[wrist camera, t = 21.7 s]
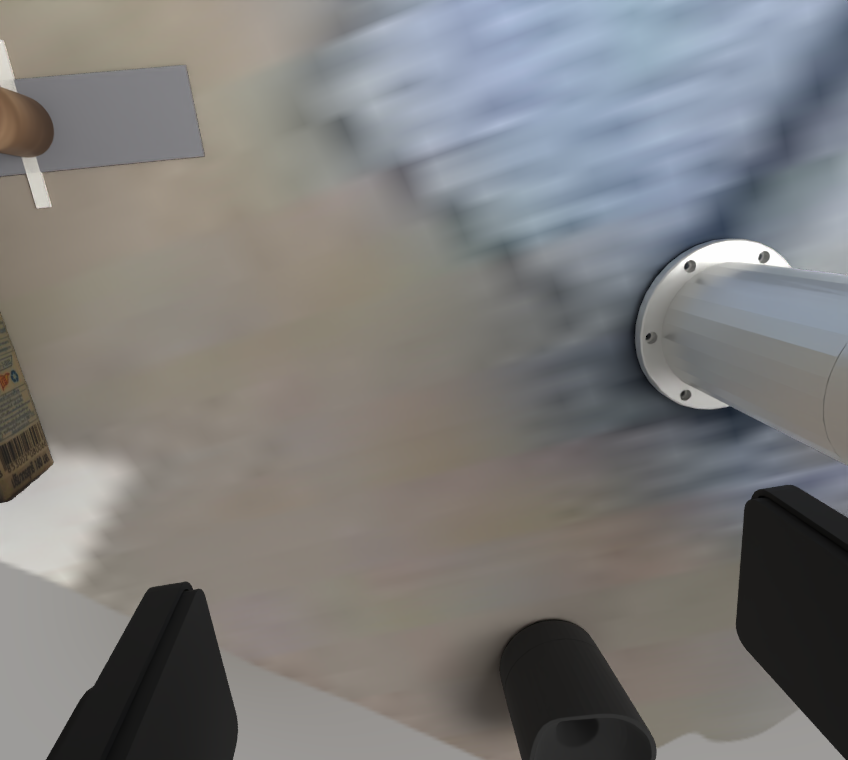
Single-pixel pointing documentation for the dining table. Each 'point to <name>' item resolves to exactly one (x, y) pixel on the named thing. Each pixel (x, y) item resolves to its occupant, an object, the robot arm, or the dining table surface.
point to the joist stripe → (106, 120)
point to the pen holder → (569, 698)
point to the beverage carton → (18, 427)
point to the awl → (23, 125)
